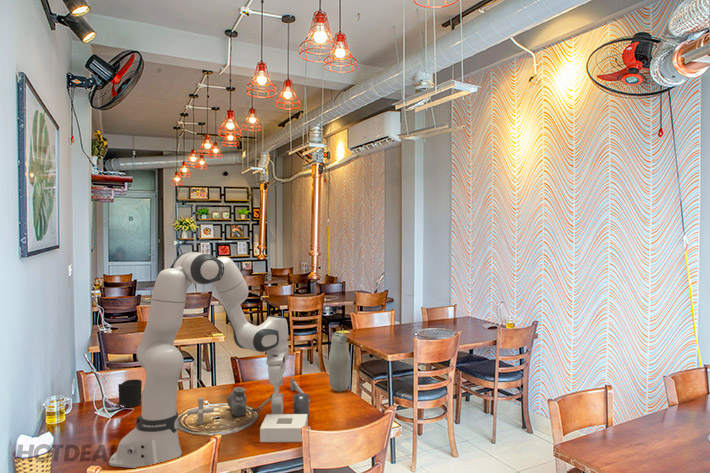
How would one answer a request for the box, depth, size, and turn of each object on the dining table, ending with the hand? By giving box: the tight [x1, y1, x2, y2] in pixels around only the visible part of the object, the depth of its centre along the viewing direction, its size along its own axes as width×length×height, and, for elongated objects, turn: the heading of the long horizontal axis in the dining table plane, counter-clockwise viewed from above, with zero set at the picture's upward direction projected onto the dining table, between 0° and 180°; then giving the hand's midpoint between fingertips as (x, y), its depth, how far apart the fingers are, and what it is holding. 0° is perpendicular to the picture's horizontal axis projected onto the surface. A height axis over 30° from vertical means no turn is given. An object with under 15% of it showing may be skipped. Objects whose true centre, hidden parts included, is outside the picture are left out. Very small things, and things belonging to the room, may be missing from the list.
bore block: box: [259, 413, 309, 443], centre depth 182 cm, size 16×14×5 cm
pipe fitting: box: [226, 386, 247, 418], centre depth 205 cm, size 12×8×10 cm
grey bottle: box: [328, 332, 351, 392], centre depth 234 cm, size 10×10×28 cm
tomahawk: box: [251, 393, 273, 413], centre depth 217 cm, size 22×7×1 cm, turn 166°
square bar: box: [271, 392, 284, 414], centre depth 197 cm, size 4×4×10 cm
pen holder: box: [118, 379, 143, 408], centre depth 215 cm, size 9×9×10 cm
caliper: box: [289, 377, 311, 403], centre depth 227 cm, size 21×1×6 cm, turn 30°
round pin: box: [292, 392, 310, 419], centre depth 199 cm, size 6×6×9 cm
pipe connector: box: [186, 397, 215, 425], centre depth 193 cm, size 10×10×10 cm
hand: (278, 388), depth 198 cm, fingers open, 8 cm apart
